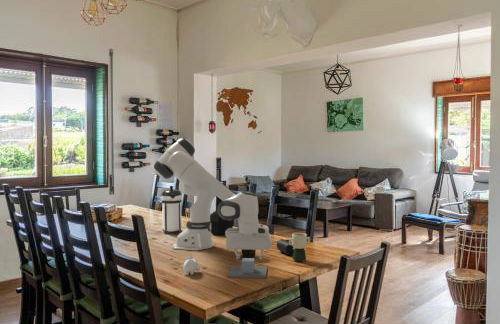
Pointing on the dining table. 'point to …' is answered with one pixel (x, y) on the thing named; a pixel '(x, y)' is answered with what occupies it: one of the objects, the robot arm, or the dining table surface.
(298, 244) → the character mug
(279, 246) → the end cap
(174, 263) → the dining table surface
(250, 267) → the slate cube
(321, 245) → the dining table surface
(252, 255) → the coffee mug
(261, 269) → the charcoal mat
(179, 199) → the coffee press
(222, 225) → the bottle
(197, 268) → the elephant figurine
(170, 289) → the dining table surface
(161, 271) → the dining table surface
